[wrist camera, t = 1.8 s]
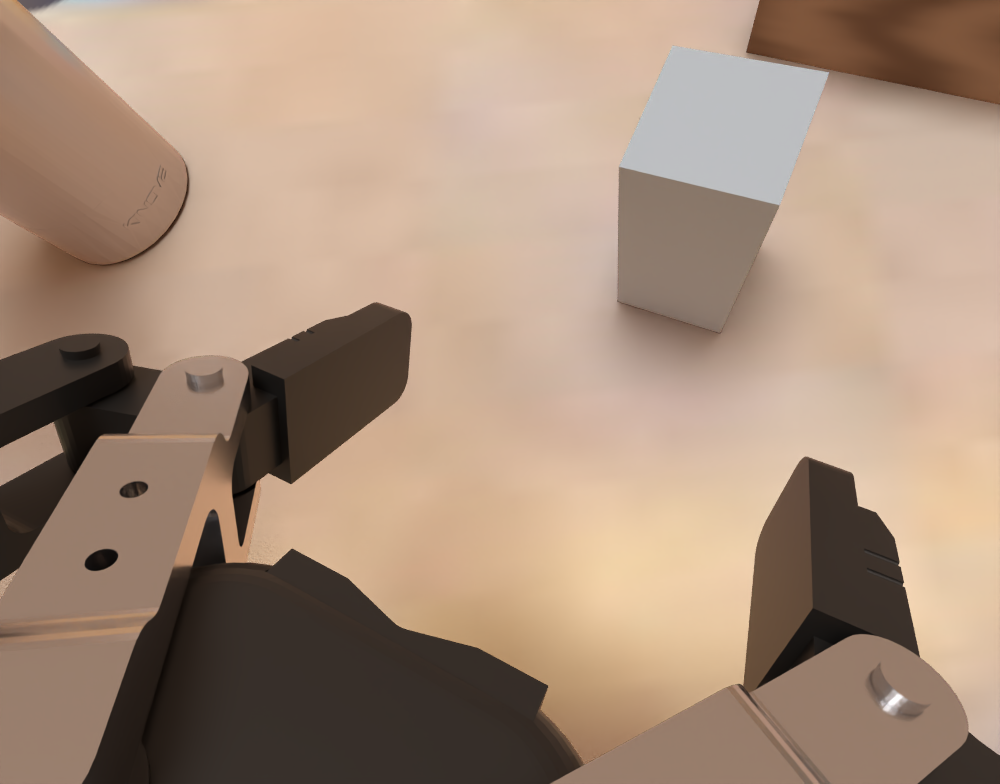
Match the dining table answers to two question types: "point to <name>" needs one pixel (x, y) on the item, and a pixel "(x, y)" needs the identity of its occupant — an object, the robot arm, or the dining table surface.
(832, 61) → the pedestal
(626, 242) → the slate block
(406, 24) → the dining table surface
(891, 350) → the dining table surface
